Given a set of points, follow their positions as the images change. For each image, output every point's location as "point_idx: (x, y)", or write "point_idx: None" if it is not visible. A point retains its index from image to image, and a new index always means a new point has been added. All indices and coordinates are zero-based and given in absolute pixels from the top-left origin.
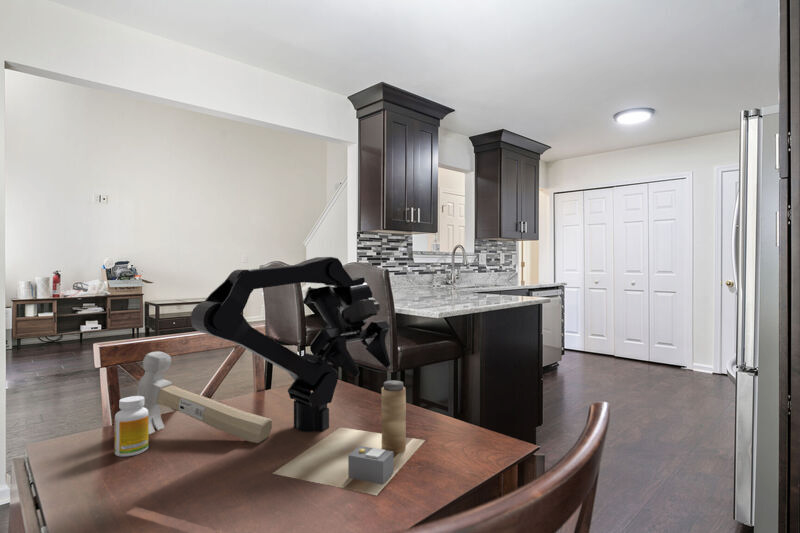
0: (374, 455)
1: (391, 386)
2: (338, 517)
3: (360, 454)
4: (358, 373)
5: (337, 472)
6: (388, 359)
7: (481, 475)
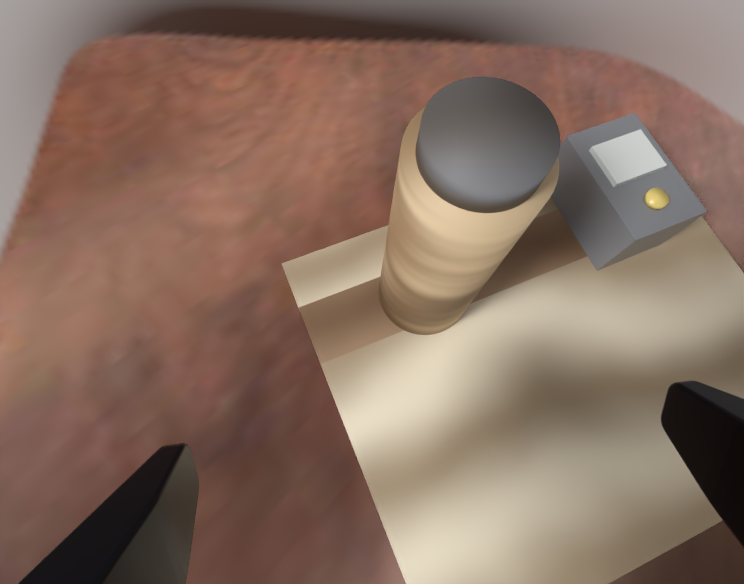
0: (645, 142)
1: (541, 105)
2: (740, 153)
3: (669, 189)
4: (688, 382)
5: (674, 290)
6: (136, 484)
7: (346, 53)
